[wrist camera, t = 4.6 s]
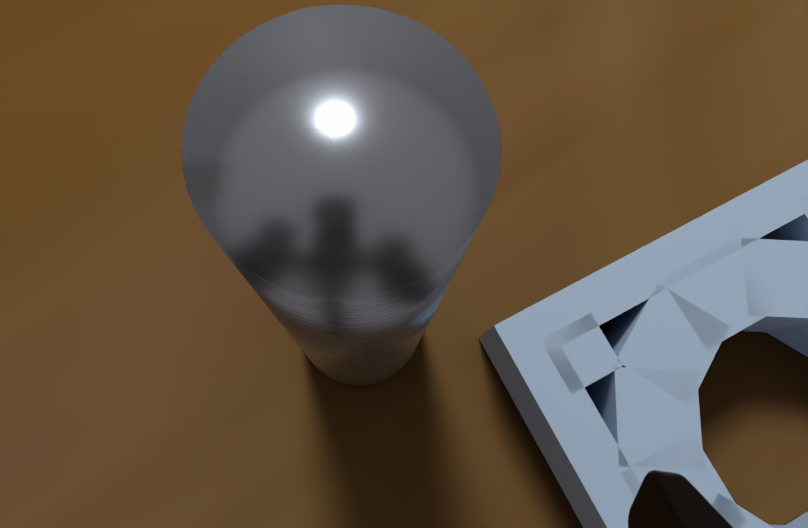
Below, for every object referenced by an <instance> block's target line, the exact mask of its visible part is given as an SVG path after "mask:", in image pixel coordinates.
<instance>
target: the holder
mask: <svg viewBox="0 0 808 528" xmlns="http://www.w3.org/2000/svg"><path fill="white" fill-rule="evenodd" d="M612 318H613V320H612V322H611V323H610V325H609V327H608V329H607V331H606V332H605V334H603V332H602V331H601V329H600V327H599V326H600V325H601V324H603V323H605V322H607V321H609V320H611V319H612ZM740 331H751V332H766V333H768V334H770V335H771V336H773V337H775V338H776V339H778V340H780V341H781V342H783V343H785V344H786V345H788V346H790V347H791V348H793V349H795V350H796V351H798V352H800V353H801V354H803V355H805V356H806V357H808V160H806V161H804V162H802V163H801V164H799V165H797V166H795V167H793V168H791V169H789V170H787V171H785V172H784V173H782V174H780V175H778V176H776V177H774V178H772V179H770V180H768V181H767V182H765V183H763V184H761V185H759V186H757V187H755V188H753V189H751V190H750V191H748V192H746V193H744V194H742V195H740V196H738V197H736V198H734V199H733V200H731V201H729V202H727V203H725V204H723V205H721V206H719V207H717V208H716V209H714V210H712V211H710V212H708V213H706V214H704V215H702V216H700V217H699V218H697V219H695V220H693V221H691V222H689V223H687V224H685V225H683V226H682V227H680V228H678V229H676V230H674V231H672V232H670V233H668V234H666V235H665V236H663V237H661V238H659V239H657V240H655V241H653V242H651V243H649V244H648V245H646V246H644V247H642V248H640V249H638V250H636V251H634V252H632V253H631V254H629V255H627V256H625V257H623V258H621V259H619V260H617V261H615V262H614V263H612V264H610V265H608V266H606V267H604V268H602V269H600V270H598V271H597V272H595V273H593V274H591V275H589V276H587V277H585V278H583V279H581V280H580V281H578V282H576V283H574V284H572V285H570V286H568V287H566V288H564V289H562V290H561V291H559V292H557V293H555V294H553V295H551V296H549V297H547V298H545V299H544V300H542V301H540V302H538V303H536V304H534V305H532V306H530V307H528V308H527V309H525V310H523V311H521V312H519V313H517V314H515V315H513V316H511V317H510V318H508V319H506V320H504V321H502V322H500V323H498V324H496V325H494V326H493V327H492V328H491V329H490V330H488V331H487V332H486V333H485V334H484V335H483V336H481V337H480V338H479V340H480V341H481V343H482V345H483V347H484V349H485V350H486V352H487V354H488V356H489V358H490V360H491V361H492V363H493V365H494V367H495V369H496V370H497V372H498V374H499V376H500V378H501V379H502V381H503V383H504V385H505V387H506V389H507V390H508V392H509V394H510V396H511V398H512V399H513V401H514V403H515V405H516V407H517V408H518V410H519V412H520V414H521V416H522V418H523V419H524V421H525V423H526V425H527V427H528V428H529V430H530V432H531V434H532V436H533V437H534V439H535V441H536V443H537V445H538V447H539V448H540V450H541V452H542V454H543V456H544V457H545V459H546V461H547V463H548V465H549V466H550V468H551V470H552V472H553V474H554V475H555V477H556V479H557V481H558V483H559V485H560V486H561V488H562V490H563V492H564V494H565V495H566V497H567V499H568V501H569V503H570V504H571V506H572V508H573V510H574V512H575V514H576V515H577V517H578V519H579V521H580V523H581V524H582V526H583V528H628V515H629V511H630V508H631V505H632V503H633V501H634V499H635V497H636V494H637V492H638V490H639V488H640V486H641V484H642V482H643V479H644V477H645V476H646V474H647V473H648V472H649V471H651V470H658V471H666V472H673V473H678V474H681V475H682V476H684V477H685V478H686V479H687V480H688V481H689V482H690V483H691V484H692V485H693V486H694V487H695V488H696V489H697V490H698V491H699V492H700V493H701V494H702V495H703V496H704V498H705V499H706V500H707V501H708V502H709V503H710V504H711V505H712V506H713V507H714V508H715V509H716V510H717V511H718V512H719V513H720V514H721V515H722V516H723V517H724V518H725V520H726V521H727V522H728V523H729V524H730V525H731V526H732V527H733V528H808V511H807V512H806V513H804V514H802V515H801V516H799V517H798V518H796V519H795V520H793V521H791V522H790V523H788V524H787V525H768V524H767V523H765V522H764V521H762V520H760V519H759V518H757V517H756V516H754V515H752V514H751V513H749V512H748V511H746V510H745V509H743V508H741V507H740V506H738V505H737V504H735V502H734V500H733V499H732V497H731V495H730V494H729V492H728V490H727V489H726V487H725V485H724V484H723V482H722V480H721V479H720V477H719V476H718V474H717V472H716V471H715V469H714V467H713V466H712V464H711V462H710V461H709V459H708V457H707V456H706V454H705V452H704V451H703V449H702V435H701V422H700V409H699V396H698V389H699V387H700V385H701V383H702V381H703V379H704V377H705V375H706V373H707V371H708V369H709V367H710V365H711V363H712V361H713V359H714V357H715V354H716V352H717V350H718V348H719V346H720V344H721V342H722V341H724V340H726V339H727V338H729V337H731V336H733V335H734V334H736V333H738V332H740Z"/></svg>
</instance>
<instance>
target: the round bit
mask: <svg viewBox="0 0 808 528" xmlns="http://www.w3.org/2000/svg"><path fill="white" fill-rule="evenodd" d="M181 152H182V166H183V173H184V178H185V182H186V187H187V190H188V193H189V196H190V198H191V201H192V204H193V206H194V209H195V210H196V212H197V214H198V216H199V218H200V219H201V221H202V223H203V225H204V226H205V228H206V229H207V230H208V232H209V233H210V234H211V236H212V237H213V238H214V240H215V241H216V242H217V243H218V245H219V246H220V247H221V248H222V250H223V251H224V252H225V254H226V255H227V256H228V257H229V259H230V260H231V261H232V262H233V264H234V265H235V266H236V267H237V269H238V270H239V271H240V272H241V274H242V275H243V276H244V277H245V279H246V280H247V281H248V282H249V284H250V285H251V286H252V287H253V289H254V290H255V291H256V293H257V294H258V295H259V296H260V298H261V299H262V300H263V301H264V303H265V304H266V305H267V306H268V308H269V309H270V310H271V311H272V313H273V314H274V315H275V316H276V318H277V319H278V320H279V321H280V323H281V324H282V325H283V326H284V328H285V329H286V330H287V332H288V333H289V334H290V335H291V337H292V338H293V339H294V340H295V342H296V343H297V344H298V345H299V347H300V348H301V349H302V350H303V352H304V353H305V354H306V355H307V357H308V358H309V359H310V360H311V362H312V363H313V364H314V366H315V367H316V368H317V369H318V370H319V371H320V372H322V373H323V374H324V375H326V376H327V377H329V378H331V379H332V380H335V381H337V382H339V383H343V384H347V385H353V386H367V385H373V384H377V383H380V382H382V381H385V380H387V379H389V378H390V377H392V376H394V375H395V374H396V373H398V372H399V371H400V370H401V369H402V368H403V367H404V366H405V365H406V364H407V362H408V361H409V360H410V358H411V357H412V355H413V353H414V351H415V349H416V347H417V345H418V343H419V341H420V340H421V338H422V336H423V334H424V332H425V330H426V328H427V326H428V324H429V322H430V320H431V318H432V316H433V314H434V312H435V310H436V309H437V307H438V305H439V303H440V301H441V299H442V297H443V295H444V293H445V291H446V289H447V287H448V285H449V283H450V281H451V279H452V278H453V276H454V274H455V272H456V270H457V268H458V266H459V264H460V262H461V260H462V258H463V256H464V254H465V252H466V250H467V248H468V247H469V245H470V243H471V241H472V239H473V237H474V235H475V233H476V231H477V229H478V227H479V225H480V223H481V221H482V219H483V218H484V216H485V214H486V212H487V210H488V208H489V205H490V203H491V200H492V197H493V195H494V192H495V189H496V185H497V181H498V176H499V172H500V162H501V139H500V130H499V125H498V120H497V115H496V112H495V109H494V106H493V104H492V101H491V98H490V96H489V94H488V92H487V90H486V88H485V86H484V84H483V82H482V80H481V79H480V77H479V76H478V74H477V73H476V71H475V70H474V69H473V67H472V66H471V64H470V63H469V62H468V61H467V60H466V59H465V58H464V57H463V55H462V54H461V53H460V52H459V51H458V50H457V49H456V48H455V47H453V46H452V45H451V44H450V43H449V42H448V41H446V40H445V39H444V38H443V37H441V36H440V35H438V34H437V33H435V32H434V31H432V30H431V29H429V28H428V27H426V26H424V25H422V24H420V23H418V22H416V21H414V20H412V19H410V18H407V17H404V16H402V15H399V14H396V13H394V12H390V11H386V10H382V9H378V8H374V7H367V6H359V5H325V6H315V7H310V8H305V9H301V10H296V11H293V12H290V13H287V14H284V15H281V16H278V17H276V18H273V19H271V20H269V21H267V22H265V23H263V24H261V25H259V26H257V27H256V28H254V29H252V30H251V31H249V32H248V33H246V34H245V35H243V36H242V37H240V38H239V39H238V40H237V41H236V42H234V43H233V44H232V45H231V46H229V47H228V48H227V49H226V50H225V51H224V52H223V53H222V54H221V55H220V56H219V58H218V59H217V60H216V61H215V62H214V63H213V64H212V66H211V67H210V69H209V70H208V71H207V73H206V74H205V75H204V77H203V78H202V80H201V82H200V84H199V86H198V88H197V89H196V91H195V93H194V95H193V98H192V101H191V103H190V106H189V109H188V111H187V115H186V119H185V124H184V128H183V136H182V150H181Z"/></svg>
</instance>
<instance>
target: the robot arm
mask: <svg viewBox="0 0 808 528" xmlns="http://www.w3.org/2000/svg"><path fill="white" fill-rule="evenodd" d="M628 528H733V527H732V526H731V525H730V524H729V523H728V522H727V521H726V520H725V518H724V517H723V516H722V515H721V514H720V513H719V512H718V511H717V510H716V509H715V508H714V507H713V506H712V505H711V504H710V503H709V502H708V501H707V500H706V499H705V498H704V496H703V495H702V494H701V493H700V492H699V491H698V490H697V489H696V488H695V487H694V486H693V485H692V484H691V483H690V482H689V481H688V480H687V479H686V478H685V477H684V476H682V475H681V474H678V473H673V472H666V471H658V470H651V471H649V472H648V473H647V474H646V476H645V477H644V479H643V482H642V484H641V486H640V488H639V490H638V492H637V494H636V497H635V499H634V501H633V503H632V505H631V508H630V511H629V515H628Z"/></svg>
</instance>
